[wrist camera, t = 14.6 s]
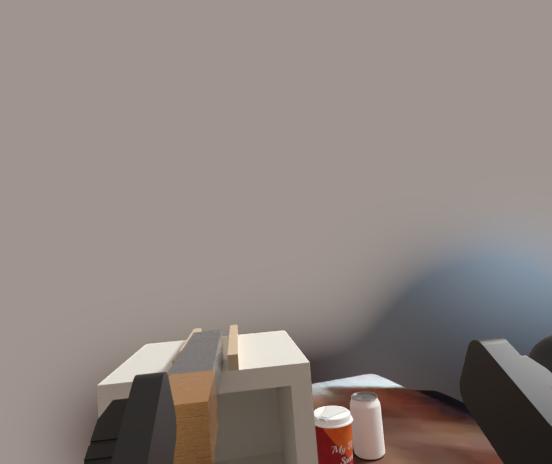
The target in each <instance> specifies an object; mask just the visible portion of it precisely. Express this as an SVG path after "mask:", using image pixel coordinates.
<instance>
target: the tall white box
mask: <svg viewBox="0 0 552 464" xmlns="http://www.w3.org/2000/svg"><path fill="white" fill-rule="evenodd" d="M237 329H238V328H237V325H231V326H230V335H229V336H223V337H222V341H223V355H224V359H223V366H222V373H221V381H220V388H219V395H218V402H217V415H218V431H217V439H216V448H215V457H214V464H318V454H317V442H316V431H315V419H314V408H313V396H312V385H311V373H310V362H309V361H308V360H307V358H306V357H305V356H304V354H303V353H302V352H301V351H300V350H299V348H298V347H297V346H296V344H295V343H294V342H293V340H292V339H291V338H290V336H289V335H288V334H287V333H286V331H285V330H283V331H274V332H263V333H253V334H243V335H238V330H237ZM194 332H202V331H201V328H198V329H194V330H193V332H192V333H191V334H190V336H189V337H188V339H187V340H183V341H173V342H164V343H153V344H146V345H145V346H143V347H142V348H141V349H140V350H138V351H137V352H136V353H135V354H134V355H133V356H131V357H130V358H129V359H128V360H127V361H126V362H124V363H123V364H122V365H121V366H120V367H118V368H117V369H116V370H115V371H114V372H112V373H111V374H110V375H109V376H108V377H107V378H106V379H104V380H103V381H102V382H101V383H99V384H98V385H97V392H98V393H97V395H98V418H99V417H100V416H101V415H102V413H103V412H104V411H105V409H106V408H107V407H108V406H109V404H110V403H111V402H112V400H117V399H126V398H128V397H129V393H130V390H131V386H132V382H133V379H134V377H135V375H139V374H149V373H158V372H167V373H168V371H169V369H170V368H171V366H172V365H173V363H174V362H175V360H176V359H177V357H178V356H179V354H180V353H181V351H182V350H183V348H184V347H185V345H186V344H187V342H188V341H189V339H190V337H191V336H192V334H193V333H194Z"/></svg>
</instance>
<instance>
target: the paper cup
mask: <svg viewBox="0 0 552 464" xmlns="http://www.w3.org/2000/svg"><path fill="white" fill-rule="evenodd" d="M314 419H315V431H316V442H317V454H318V463H319V464H353V449H352V424H351V423H352V421H353V417H352V416H351V414H350V411H349V410H348V409H346V408H344V407H340V406H326V407H325V406H324V407H320V408H318V409H316V410H314Z"/></svg>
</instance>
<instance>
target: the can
mask: <svg viewBox="0 0 552 464" xmlns="http://www.w3.org/2000/svg"><path fill="white" fill-rule="evenodd" d="M350 413H351V416H352V417H353V421H352V434H353V444H354V452H355V454H356V455H357V456H358V457H359V458H361V459H364V460H377V459H380V458H382V457H383V455H384V454H385V446H384V436H383V426H382V416H381V407H380V402H379V400H378V398H377V395H376V394H375V393H372V392H357V393H354V394H352V395H351V401H350Z"/></svg>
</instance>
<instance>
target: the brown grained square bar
mask: <svg viewBox="0 0 552 464" xmlns="http://www.w3.org/2000/svg"><path fill="white" fill-rule="evenodd" d="M223 359H224V355H223V341H222V330H214V331H204V332H194V333H193V334H192V336H191V337H190V339H189V341H188V342H187V344H186V345H185V347H184V348H183V350H182V351H181V353H180V354H179V356H178V357H177V359H176V360H175V362H174V363H173V365H172V366H171V368H170V369H169V371H168V373H167V374H168V377H169V382H170V387H171V392H172V397H173V402H174V407H175V413H176V424H177V432H176V444H175V452H174V461H173V464H214V457H215V448H216V439H217V431H218V415H217V402H218V395H219V388H220V381H221V373H222V366H223Z"/></svg>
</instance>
